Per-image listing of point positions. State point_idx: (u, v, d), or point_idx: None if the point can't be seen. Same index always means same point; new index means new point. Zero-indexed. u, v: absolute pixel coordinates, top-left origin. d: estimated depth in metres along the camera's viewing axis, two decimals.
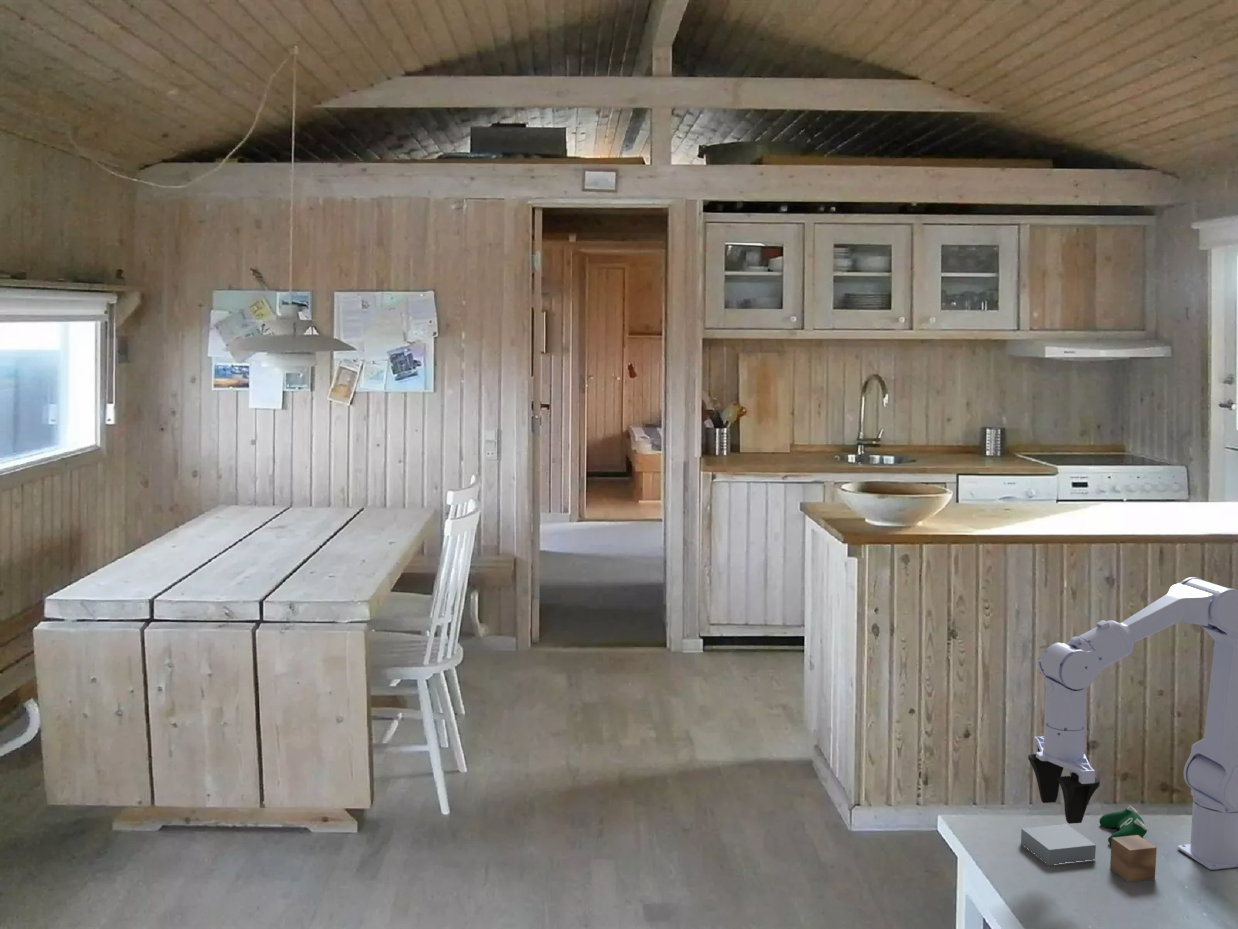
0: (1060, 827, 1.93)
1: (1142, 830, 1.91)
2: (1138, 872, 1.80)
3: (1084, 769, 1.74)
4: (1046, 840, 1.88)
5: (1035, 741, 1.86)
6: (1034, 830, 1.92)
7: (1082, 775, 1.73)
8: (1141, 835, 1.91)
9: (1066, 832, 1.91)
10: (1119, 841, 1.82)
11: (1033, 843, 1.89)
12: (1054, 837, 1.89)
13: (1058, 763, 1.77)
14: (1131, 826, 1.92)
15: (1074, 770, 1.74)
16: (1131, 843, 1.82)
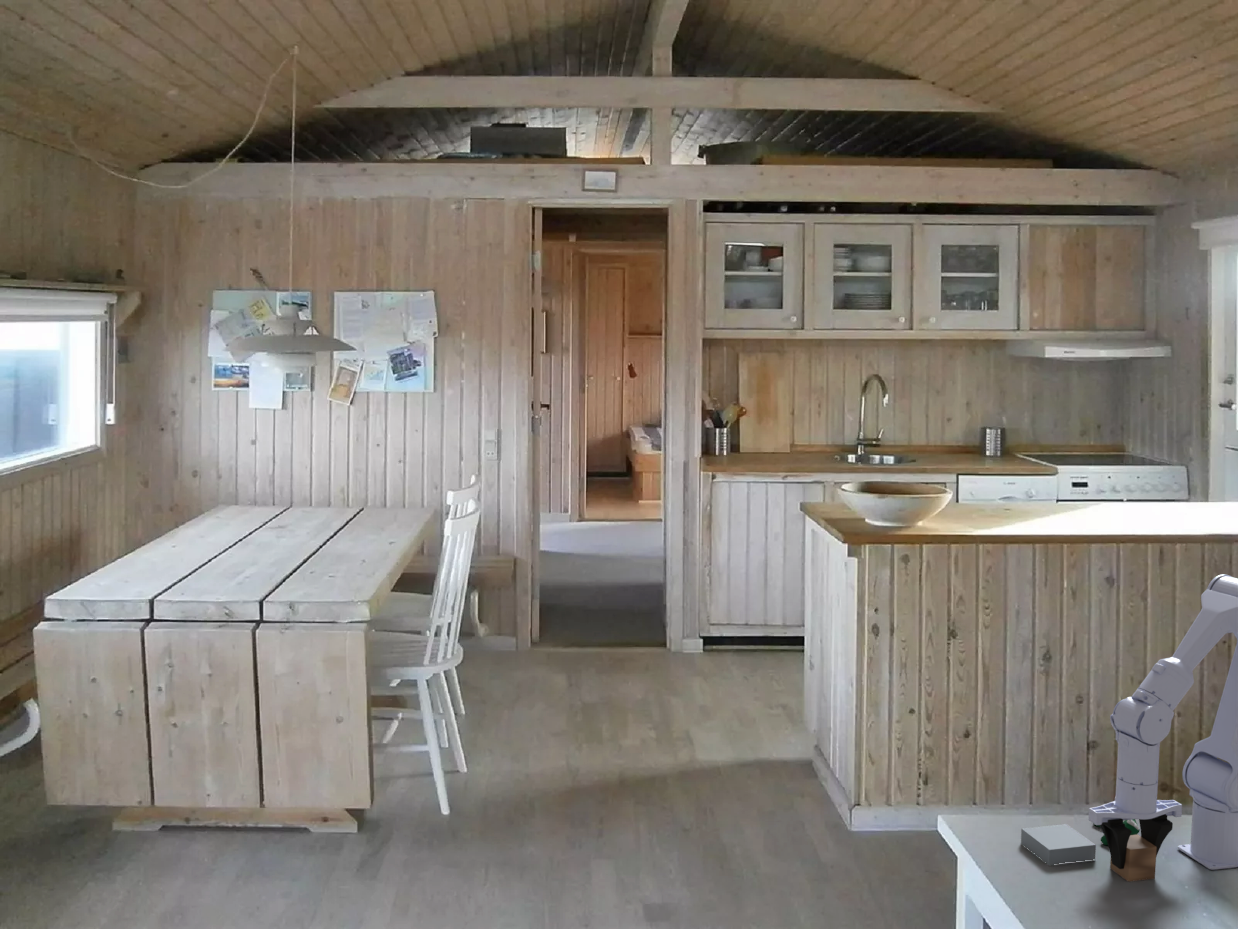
0: (1060, 827, 1.93)
1: (1135, 830, 1.92)
2: (1138, 871, 1.80)
3: (1097, 810, 1.80)
4: (1047, 840, 1.88)
5: (1170, 803, 1.84)
6: (1034, 830, 1.92)
7: (1089, 812, 1.81)
8: None
9: (1065, 832, 1.91)
10: None
11: (1033, 843, 1.89)
12: (1054, 837, 1.89)
13: None
14: None
15: (1097, 809, 1.81)
16: (1131, 842, 1.82)
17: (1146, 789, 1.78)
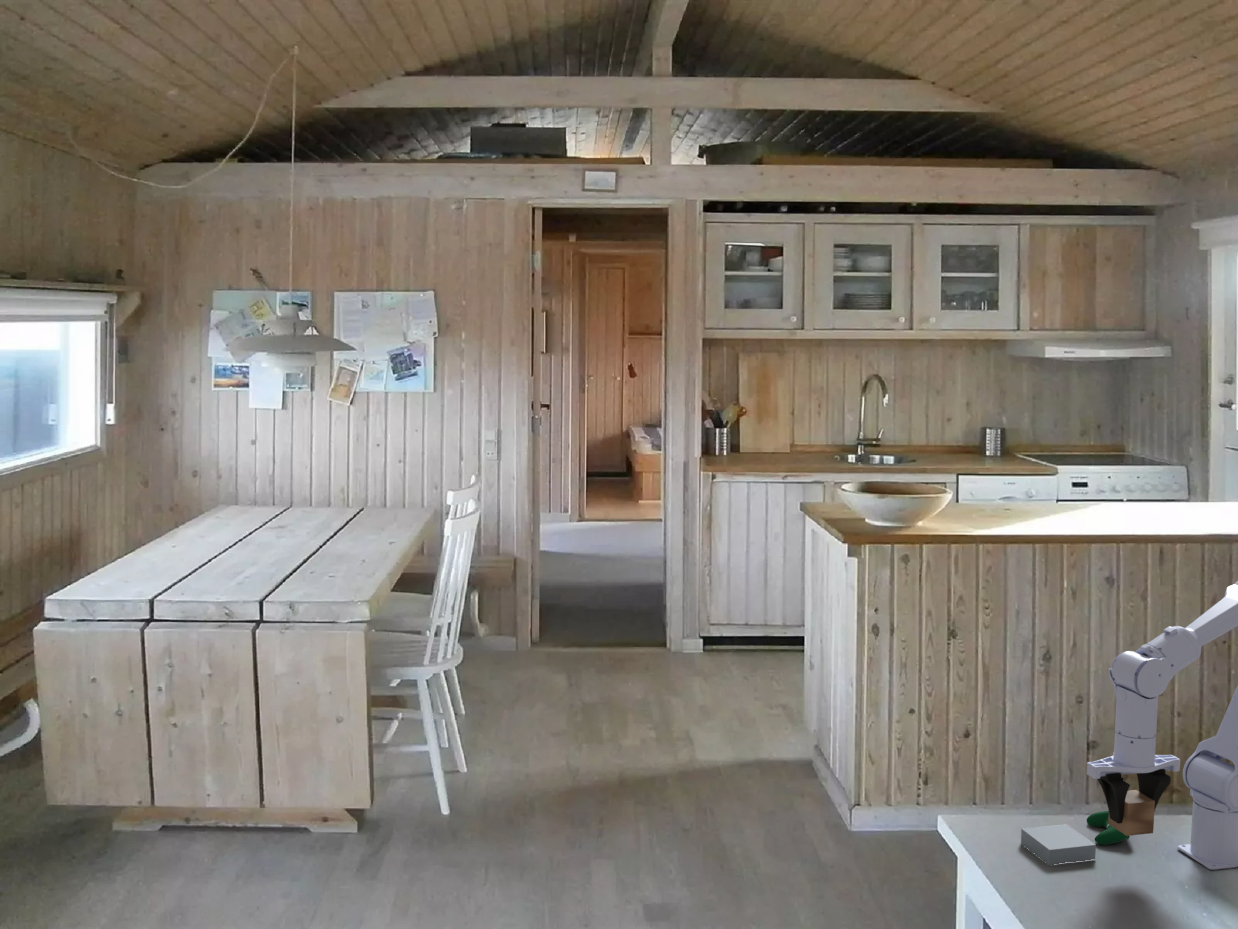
0: (1060, 827, 1.93)
1: None
2: (1136, 826, 1.80)
3: (1095, 764, 1.80)
4: (1047, 840, 1.88)
5: None
6: (1034, 830, 1.92)
7: (1087, 766, 1.80)
8: None
9: (1065, 832, 1.91)
10: None
11: (1033, 843, 1.89)
12: (1054, 837, 1.89)
13: None
14: None
15: (1096, 764, 1.81)
16: (1129, 797, 1.81)
17: (1144, 742, 1.78)
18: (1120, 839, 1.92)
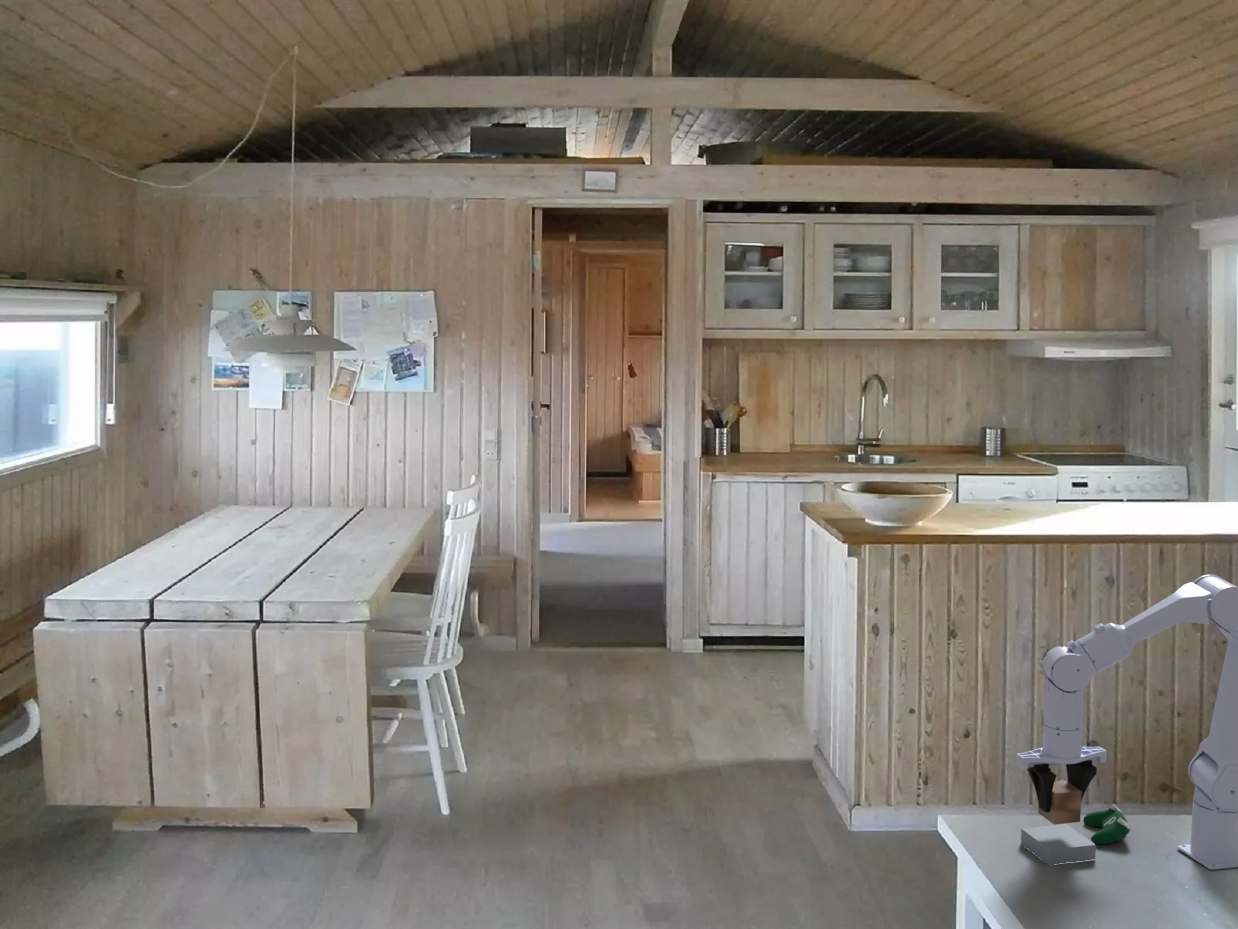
0: (1060, 827, 1.93)
1: (1125, 829, 1.92)
2: (1063, 815, 1.87)
3: None
4: (1047, 840, 1.88)
5: None
6: (1034, 830, 1.92)
7: (1016, 757, 1.87)
8: (1124, 834, 1.92)
9: (1065, 832, 1.91)
10: None
11: (1033, 843, 1.89)
12: (1054, 837, 1.89)
13: None
14: (1114, 825, 1.93)
15: (1025, 755, 1.88)
16: (1057, 787, 1.88)
17: (1070, 735, 1.85)
18: (1116, 839, 1.92)
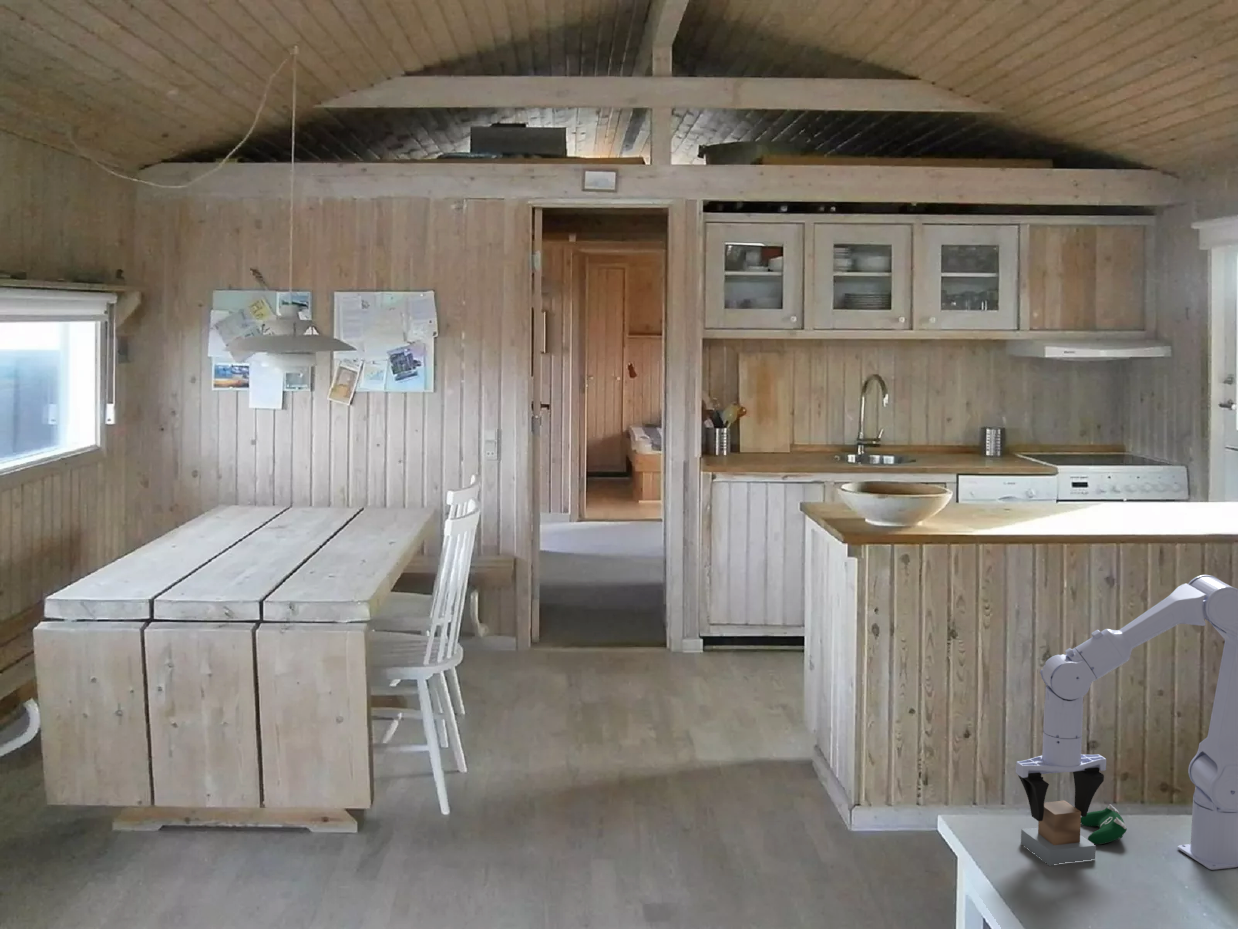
0: None
1: (1122, 829, 1.92)
2: (1063, 835, 1.87)
3: None
4: (1047, 841, 1.88)
5: None
6: (1034, 831, 1.92)
7: (1016, 765, 1.88)
8: (1121, 834, 1.92)
9: None
10: (1045, 806, 1.89)
11: (1033, 844, 1.89)
12: None
13: None
14: (1111, 825, 1.93)
15: (1025, 763, 1.88)
16: (1057, 807, 1.89)
17: (1070, 743, 1.85)
18: (1113, 838, 1.92)
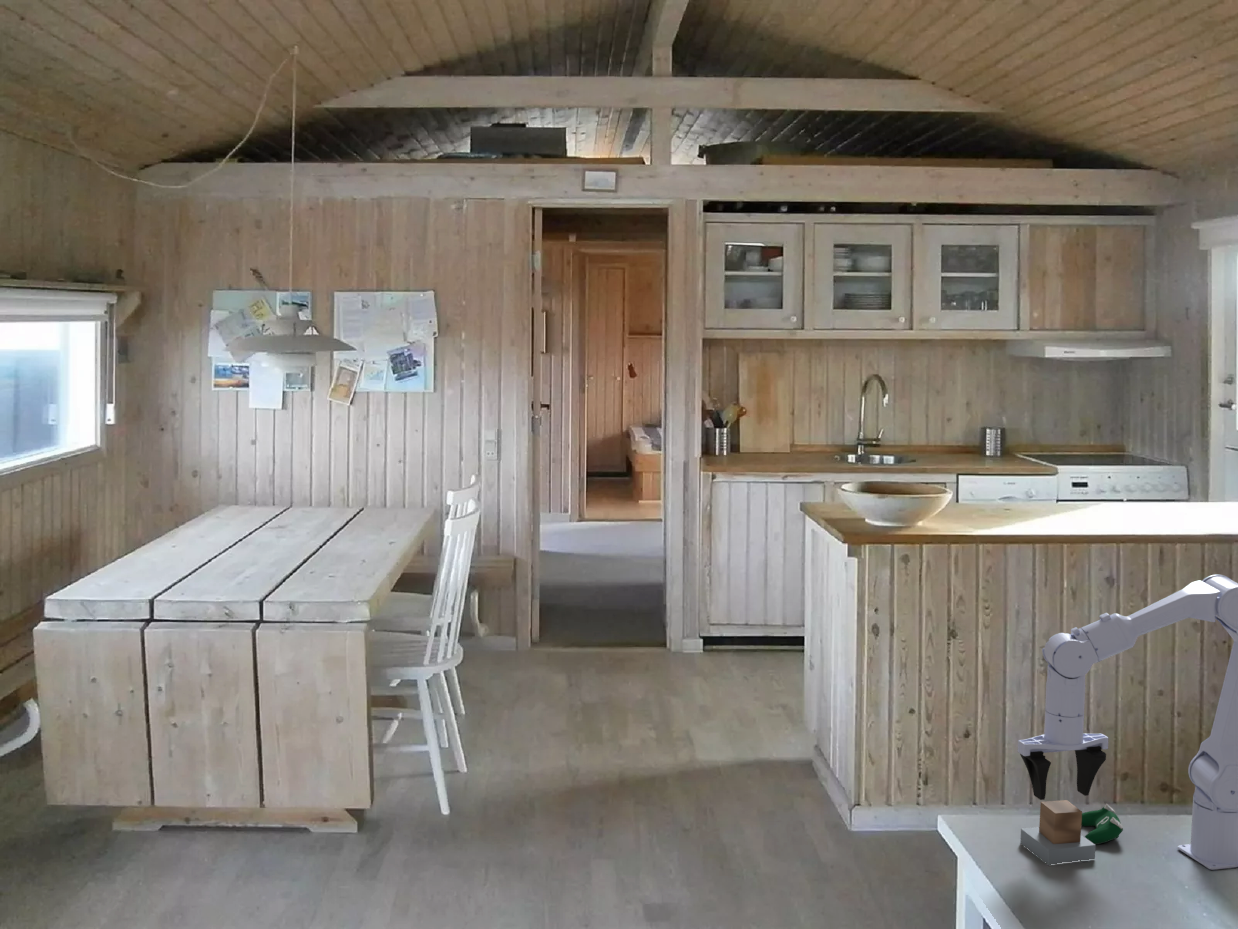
0: None
1: (1118, 829, 1.92)
2: (1063, 835, 1.87)
3: (1026, 742, 1.86)
4: (1046, 841, 1.88)
5: None
6: (1034, 830, 1.92)
7: (1018, 744, 1.87)
8: (1117, 834, 1.92)
9: None
10: (1047, 805, 1.89)
11: (1033, 844, 1.89)
12: None
13: None
14: (1107, 825, 1.93)
15: (1027, 742, 1.88)
16: (1058, 807, 1.89)
17: (1072, 721, 1.84)
18: (1109, 838, 1.92)
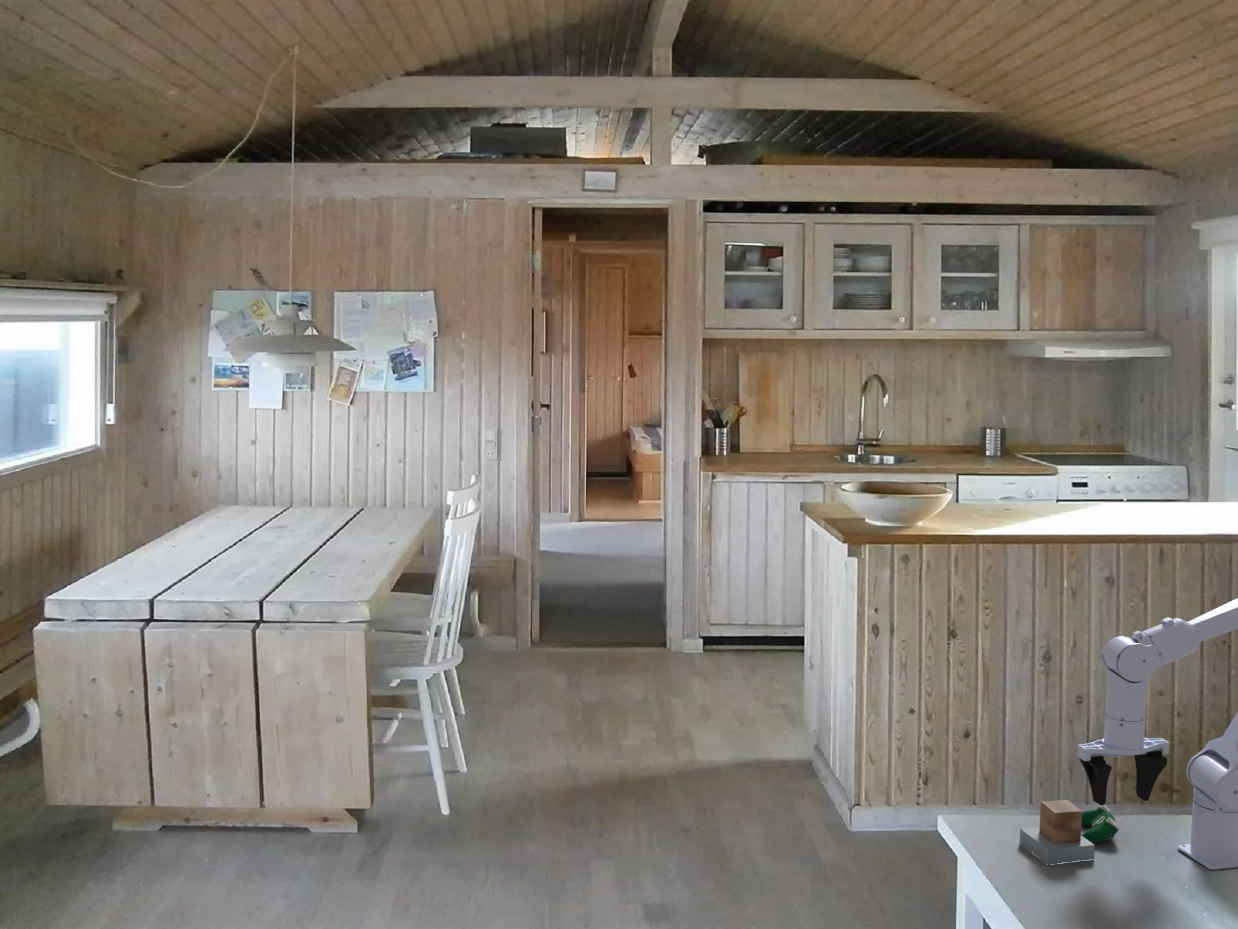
0: None
1: (1113, 828, 1.92)
2: (1063, 834, 1.87)
3: (1086, 746, 1.84)
4: (1045, 840, 1.88)
5: None
6: (1033, 830, 1.92)
7: (1078, 748, 1.85)
8: (1112, 833, 1.92)
9: None
10: (1047, 804, 1.90)
11: (1032, 843, 1.89)
12: None
13: None
14: (1103, 824, 1.93)
15: None
16: (1058, 806, 1.89)
17: (1134, 725, 1.82)
18: (1105, 838, 1.92)
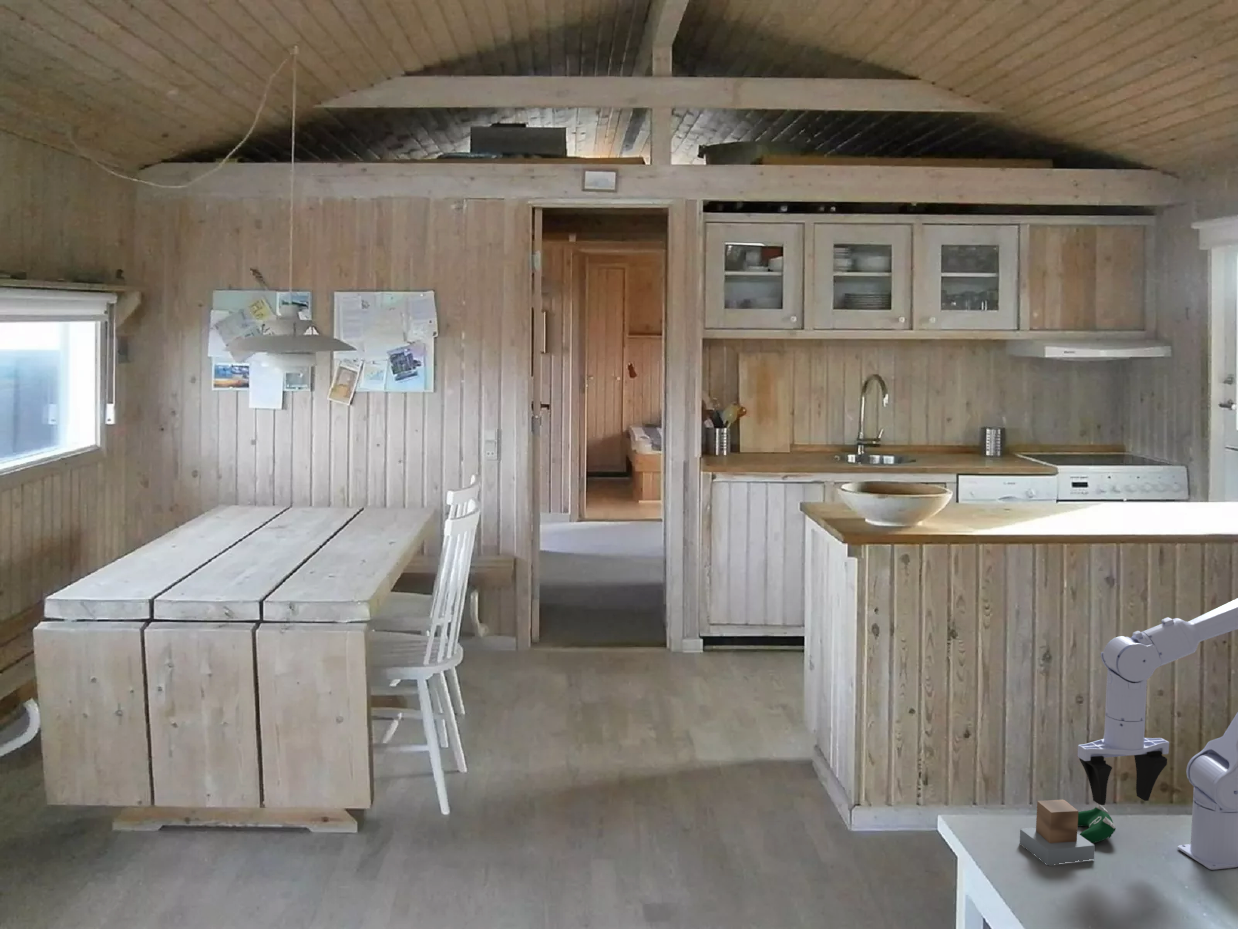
0: None
1: (1110, 828, 1.92)
2: (1059, 834, 1.87)
3: (1086, 746, 1.84)
4: (1045, 841, 1.88)
5: None
6: (1033, 830, 1.92)
7: (1078, 748, 1.85)
8: (1109, 833, 1.92)
9: None
10: (1043, 804, 1.90)
11: (1032, 844, 1.89)
12: None
13: None
14: (1100, 824, 1.93)
15: None
16: (1054, 806, 1.89)
17: (1134, 725, 1.82)
18: (1102, 838, 1.92)
